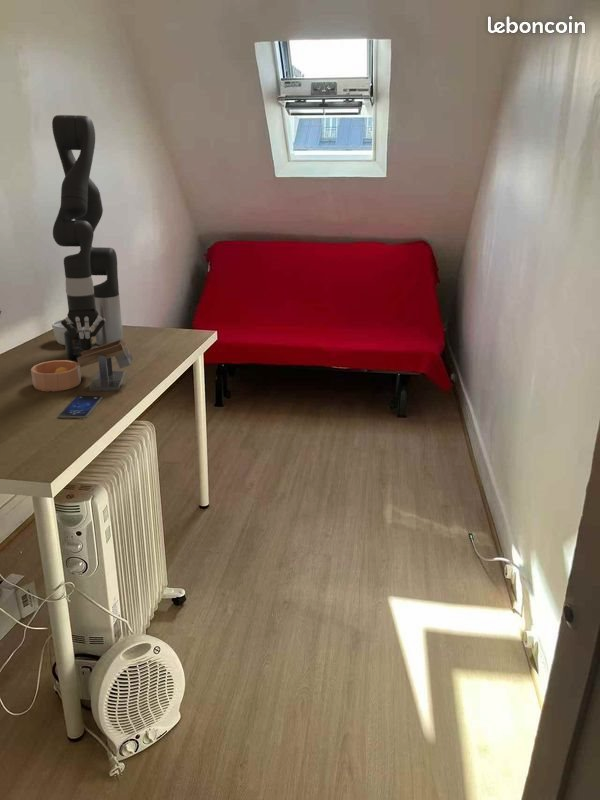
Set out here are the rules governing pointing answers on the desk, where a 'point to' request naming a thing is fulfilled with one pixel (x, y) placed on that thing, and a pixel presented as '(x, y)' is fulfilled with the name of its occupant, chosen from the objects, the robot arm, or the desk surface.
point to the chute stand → (106, 376)
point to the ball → (61, 370)
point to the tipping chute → (107, 354)
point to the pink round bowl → (56, 375)
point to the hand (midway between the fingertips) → (87, 350)
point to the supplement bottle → (72, 345)
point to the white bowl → (59, 331)
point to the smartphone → (80, 407)
